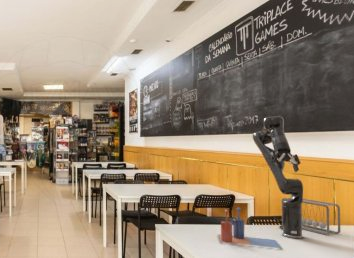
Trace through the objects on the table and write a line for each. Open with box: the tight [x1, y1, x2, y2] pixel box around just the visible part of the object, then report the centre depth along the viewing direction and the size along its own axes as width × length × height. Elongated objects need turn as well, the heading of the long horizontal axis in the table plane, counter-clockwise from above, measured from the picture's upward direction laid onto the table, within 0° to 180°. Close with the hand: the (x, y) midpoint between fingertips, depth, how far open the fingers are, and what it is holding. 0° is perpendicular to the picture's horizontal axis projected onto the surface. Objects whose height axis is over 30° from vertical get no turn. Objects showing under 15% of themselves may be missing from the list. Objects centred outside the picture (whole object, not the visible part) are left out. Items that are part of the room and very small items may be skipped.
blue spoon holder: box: [232, 207, 245, 239], centre depth 189 cm, size 6×6×17 cm
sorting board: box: [218, 233, 282, 249], centre depth 183 cm, size 16×28×1 cm, turn 69°
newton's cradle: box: [281, 197, 341, 236], centre depth 214 cm, size 30×10×18 cm, turn 18°
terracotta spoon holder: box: [220, 209, 233, 243], centre depth 182 cm, size 6×6×17 cm
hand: (288, 170), depth 181 cm, fingers open, 8 cm apart
